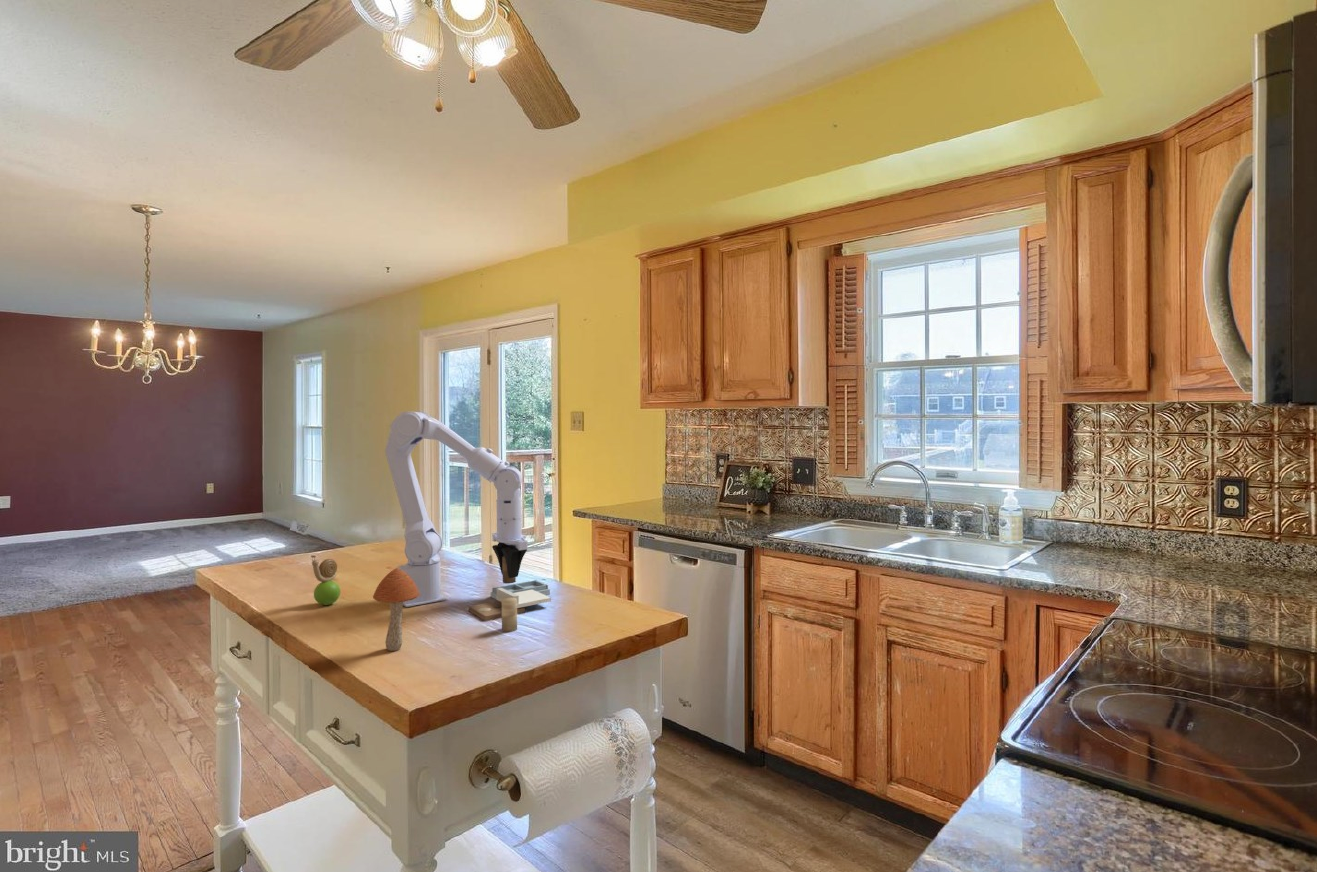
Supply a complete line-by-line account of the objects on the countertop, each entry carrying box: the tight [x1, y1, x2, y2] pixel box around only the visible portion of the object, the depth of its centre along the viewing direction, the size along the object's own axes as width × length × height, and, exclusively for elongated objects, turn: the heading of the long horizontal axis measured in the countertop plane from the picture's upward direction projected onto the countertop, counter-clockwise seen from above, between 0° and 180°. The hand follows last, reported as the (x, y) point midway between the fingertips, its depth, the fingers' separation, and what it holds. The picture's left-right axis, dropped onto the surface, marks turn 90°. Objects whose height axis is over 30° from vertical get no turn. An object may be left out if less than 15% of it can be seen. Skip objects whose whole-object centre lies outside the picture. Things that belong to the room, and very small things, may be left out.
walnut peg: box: [502, 556, 517, 585], centre depth 152 cm, size 3×3×6 cm
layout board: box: [468, 600, 526, 622], centre depth 141 cm, size 9×9×1 cm
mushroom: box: [372, 567, 419, 652], centre depth 119 cm, size 8×8×15 cm
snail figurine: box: [310, 554, 342, 606], centre depth 147 cm, size 5×6×12 cm
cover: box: [495, 588, 552, 608], centre depth 145 cm, size 9×9×3 cm
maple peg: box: [501, 598, 518, 633], centre depth 130 cm, size 3×3×6 cm
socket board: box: [490, 579, 551, 600], centre depth 154 cm, size 12×7×2 cm, turn 129°
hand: (509, 575), depth 152 cm, fingers closed on walnut peg, 3 cm apart
